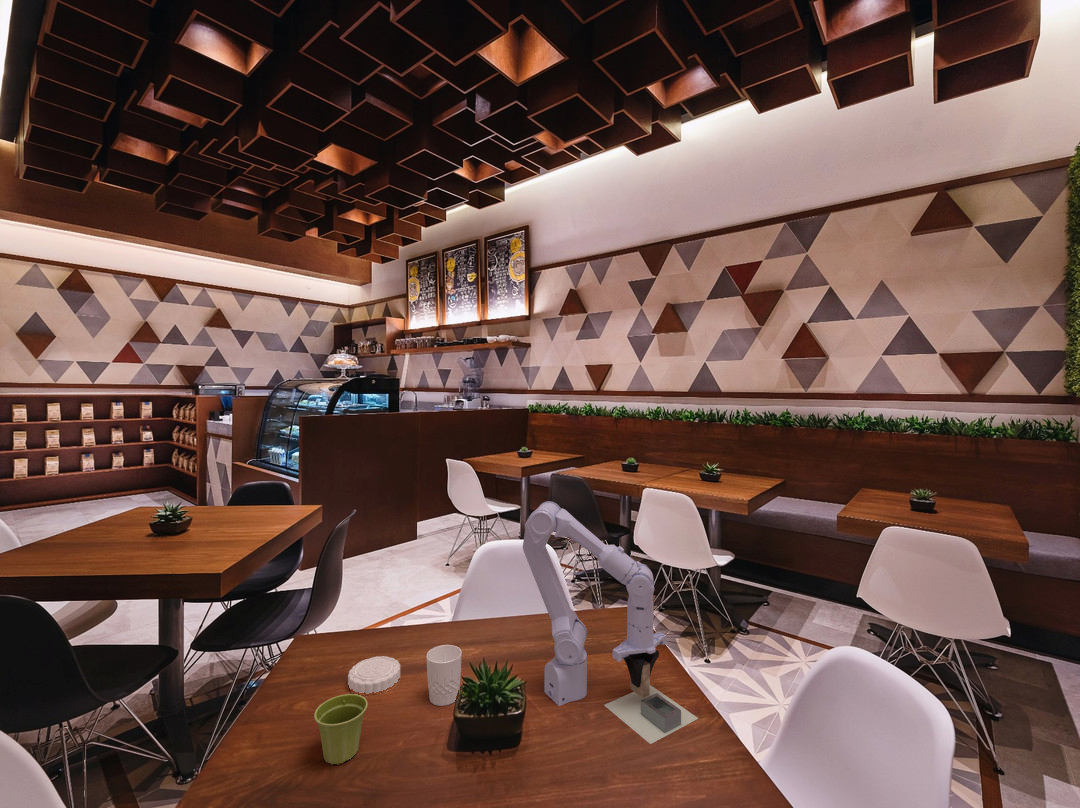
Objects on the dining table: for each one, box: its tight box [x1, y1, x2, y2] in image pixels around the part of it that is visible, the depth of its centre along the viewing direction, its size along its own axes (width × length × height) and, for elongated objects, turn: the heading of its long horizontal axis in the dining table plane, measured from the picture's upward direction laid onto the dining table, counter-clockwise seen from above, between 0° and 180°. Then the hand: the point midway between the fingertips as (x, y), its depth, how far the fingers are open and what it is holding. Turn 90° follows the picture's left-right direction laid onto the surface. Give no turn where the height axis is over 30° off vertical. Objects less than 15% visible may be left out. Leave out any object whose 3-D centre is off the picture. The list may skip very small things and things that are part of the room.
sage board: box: [603, 684, 699, 745], centre depth 101 cm, size 14×14×1 cm
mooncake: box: [347, 655, 401, 694], centre depth 114 cm, size 12×12×4 cm
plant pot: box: [313, 693, 368, 765], centre depth 91 cm, size 9×9×9 cm
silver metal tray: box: [641, 693, 681, 733], centre depth 99 cm, size 5×7×3 cm
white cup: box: [426, 644, 463, 707], centre depth 108 cm, size 8×8×10 cm
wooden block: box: [629, 661, 651, 698], centre depth 105 cm, size 2×4×7 cm, turn 32°
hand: (639, 683), depth 105 cm, fingers closed on wooden block, 2 cm apart
